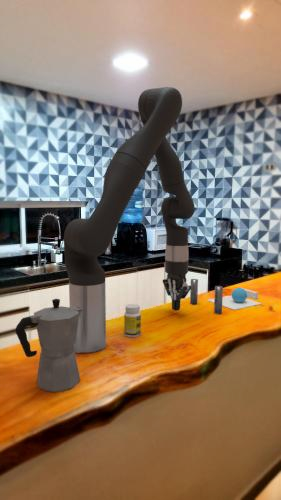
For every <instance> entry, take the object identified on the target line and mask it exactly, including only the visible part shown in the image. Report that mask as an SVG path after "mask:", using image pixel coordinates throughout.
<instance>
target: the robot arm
mask: <svg viewBox="0 0 281 500" xmlns="http://www.w3.org/2000/svg"><path fill="white" fill-rule="evenodd" d="M182 107H183V98H182V94H181V92H180V91H179V90H178V89H177V88H175V87H172V86H164V87H157V88H149V89H148V88H147V89H145V90H143V91H142V92H141V93H140V95H139V97H138V102H137V108H138V114H139V117H140V120H141V123H142V127H141V128H140V129H139V130H138V131H136V132H135V133H134V134H133V135H132V136H130V137H128V139H127V140H126V141H125V142H123V143H122V144H121V145H120V146H119V147H118V149H117V150H116V151H115V153H114V155H113V157H112V158H111V160H110V161H109V164H108V165H107V167H106V169H105V172H104V180H103V188H102V193H101V197H100V199H99V201H98V203H97V205H96V206H95V208H94V210H93V211H92V213H91V215H90V216H89V217H88V218H81V217H80V218H76V219H75V218H74V219H73V220H71V221H70V222H69V223H68V224H67V226H66V227H65V230H64V235H63V250H64V251H63V253H64V254H63V255H64V266H65V271H66V273H67V275H68V292H69V293H68V296H69V297H68V298H69V299H68V300H69V301H68V302H69V307H80V308H82V309H84V310H83V311H82V312H81V314H80V316H79V320H78V327H77V335H76V343H75V344H74V351H75V354H79V353H95V352H99V351H101V350H103V349H105V348H106V346H107V317H106V316H107V315H106V314H107V313H106V310H107V308H106V306H107V305H106V302H107V301H106V298H107V297H106V271H105V270H104V268H103V267H102V266H101V265H100V263H99V261H98V257H100V256H101V255H103V254H104V253H105V252H106V251H107V250H108V248H109V247H110V244H111V243H112V241H113V238H114V235H115V233H116V231H117V228H118V226H119V223H120V221H121V219H122V217H123V214H124V212H125V210H126V208H127V206H128V205H129V203H130V201H131V199H132V196H133V195H134V192H135V190H136V189H137V188H138V186H139V184H140V183H141V181H142V179H143V178H144V176H145V173H146V171H147V170H148V167H149V165H150V163H151V162H152V161H153V158H154V157H155V160H156V164H157V165H156V166H157V168H158V169H157V170H158V175H159V179H160V182H161V187H162V190H163V192H165V193H166V194H169V195H172V196H167V197H165V198H164V199H163V200H162V202H161V205H160V210H161V216H162V219H163V223H164V227H165V233H166V235H165V236H166V239H165V240H166V241H165V243H166V244H165V255H164V259H165V260H164V261H165V262H164V264H165V265H164V272H165V273H166V274H167V275H166V278H164V279H162V283H163V286H164V289H165V292H166V294H167V296H169V297H170V299H171V310H173V311H175V312H176V311H180V310H181V300H182V299H186V297H187V296H188V294H189V293H190V290H191V285H188V283H187V278H186V277H187V276H186V275H187V274H188V273H189V256H190V255H189V253H190V251H189V230H188V228H187V227H186V226H182V225H180V224H178V223H177V221H176V220H190V219H191V218H192V217H193V215H194V214H195V210H196V209H195V202H194V199H193V197H192V195H191V193H190V191H189V189H188V186H187V184H186V183H185V176H184V172H183V171H184V170H183V166H182V163H181V160H180V158H179V156H178V154H177V153H176V151H175V149H174V148H173V147H172V146H171V144H170V142H169V141H168V138H167V137H166V136H168V133H169V132H171V129H172V128H173V127H174V125H175V123H176V122H177V120H178V118H179V117H180V115H181V112H182Z"/></svg>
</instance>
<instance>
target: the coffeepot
mask: <svg viewBox="0 0 281 500" xmlns="http://www.w3.org/2000/svg"><path fill="white" fill-rule="evenodd" d="M51 301H52V306H51V307H45V308H42V309H40V310H37V311H34V312H33V315H28V316H25V317H22V318H21V319H20V320H19V322H18V324H17V325H16V326H15V334H16V337H17V339H18V340H19V341H18V342H19V343H20V345H21V348H22V350H23V352H24V355H25V356H26V358H32V357H35V356H36V355H37V354H38V351H37V350H33V351H32V350H31V344H30V342H29V340H28V336H27V333H26V330H25V329H26V328H27V327H34V326H36V331H37V336H38V343H39V346H40V348H41V350H40V351H41V352H40V353H39V361H38V368H37V375H36V382H37V383H38V384H37V387H38V388H39V389H40V390H42V391H44V392H49V393H50V392H51V393H58V392H60V393H61V392H64V391H68V390H71V389H72V388H74V387H75V386H77V385H78V383H79V382H80V381H81V378H80V377H81V376H80V371H79V366H78V361H77V355H76V352H75V351H74V344H75V343H76V335H77V327H78V320H79V316H80V314H81V312H82V311H83V310H84V309H82V308H80V307H70V306H60V303H61V300H60V299H59V298H54V299H52V300H51Z"/></svg>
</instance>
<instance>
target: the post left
mask: <svg viewBox="0 0 281 500" xmlns="http://www.w3.org/2000/svg"><path fill="white" fill-rule="evenodd" d="M190 286H191V289H190V291H189V293H190V294H189V295H190V296H189V297H190V298H189V303H190V305H193V306H196V305H198V295H199V290H198V287H199V279H197V278H191V279H190Z"/></svg>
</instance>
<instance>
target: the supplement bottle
mask: <svg viewBox="0 0 281 500" xmlns="http://www.w3.org/2000/svg"><path fill="white" fill-rule="evenodd" d="M140 307H141V306H140V305H139V304H136V303H130V304H126V305H125V308H124V309H125V312H124V316H123V319H124V320H123V322H124V324H123V325H124V327H123V328H124V329H123V332H124V337H125V336H126V337H128V338H137V337H140V336H141V334H142V333H141V331H142V330H141V329H142V326H141V325H142V321H141V320H142V319H141V318H142V313H141V312H140V310H141V308H140Z"/></svg>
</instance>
